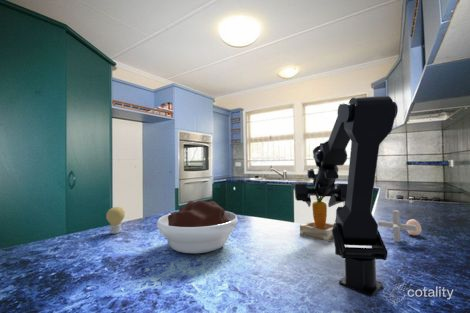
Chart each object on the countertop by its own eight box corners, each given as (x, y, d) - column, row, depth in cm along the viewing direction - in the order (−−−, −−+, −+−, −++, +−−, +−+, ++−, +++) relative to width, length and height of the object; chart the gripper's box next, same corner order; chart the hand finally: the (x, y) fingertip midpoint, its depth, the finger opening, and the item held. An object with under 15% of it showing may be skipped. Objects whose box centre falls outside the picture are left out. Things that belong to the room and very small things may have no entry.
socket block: (327, 241, 73) (326, 231, 73) (300, 234, 81) (299, 225, 81) (341, 235, 79) (341, 225, 79) (315, 229, 87) (315, 220, 88)
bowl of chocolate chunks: (138, 255, 63) (138, 203, 64) (190, 231, 86) (190, 193, 87) (211, 272, 53) (211, 209, 53) (249, 240, 75) (249, 196, 76)
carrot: (321, 230, 83) (320, 190, 84) (330, 234, 78) (329, 192, 79) (310, 231, 82) (309, 191, 83) (318, 235, 77) (317, 192, 78)
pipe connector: (417, 248, 66) (415, 215, 66) (378, 242, 72) (376, 211, 72) (415, 239, 74) (414, 210, 74) (380, 234, 80) (379, 207, 80)
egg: (403, 234, 80) (402, 218, 80) (410, 232, 82) (409, 217, 82) (417, 237, 76) (416, 221, 76) (424, 236, 78) (423, 220, 78)
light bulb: (119, 235, 82) (119, 208, 83) (102, 235, 82) (102, 208, 83) (127, 230, 89) (127, 205, 89) (112, 230, 89) (112, 205, 89)
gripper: (349, 160, 76) (339, 189, 87) (294, 161, 79) (291, 189, 89) (359, 185, 68) (347, 213, 78) (297, 185, 71) (294, 212, 81)
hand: (318, 205), depth 82 cm, fingers open, 7 cm apart
